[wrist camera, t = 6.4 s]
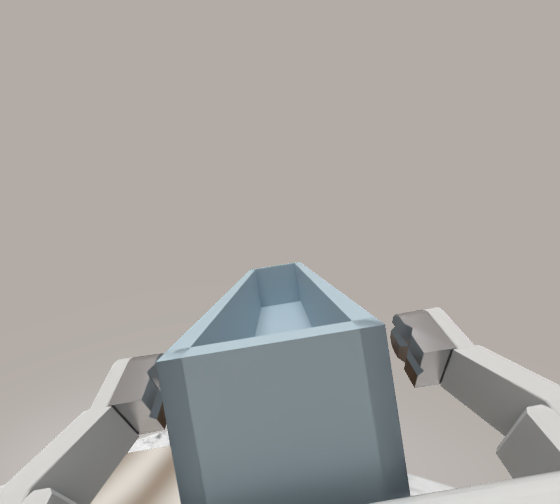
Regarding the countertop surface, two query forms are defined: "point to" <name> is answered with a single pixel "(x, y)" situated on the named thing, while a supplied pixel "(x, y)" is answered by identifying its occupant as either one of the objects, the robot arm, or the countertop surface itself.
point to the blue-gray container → (283, 398)
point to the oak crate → (142, 480)
